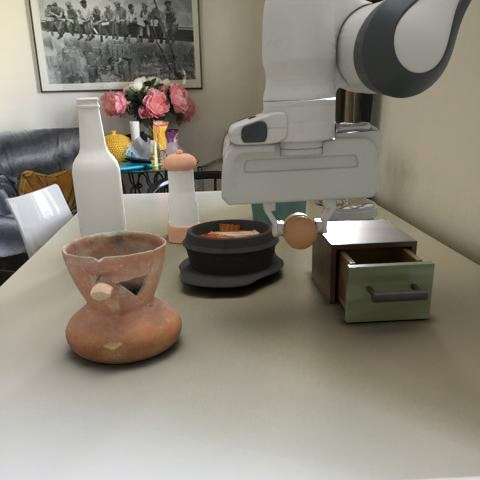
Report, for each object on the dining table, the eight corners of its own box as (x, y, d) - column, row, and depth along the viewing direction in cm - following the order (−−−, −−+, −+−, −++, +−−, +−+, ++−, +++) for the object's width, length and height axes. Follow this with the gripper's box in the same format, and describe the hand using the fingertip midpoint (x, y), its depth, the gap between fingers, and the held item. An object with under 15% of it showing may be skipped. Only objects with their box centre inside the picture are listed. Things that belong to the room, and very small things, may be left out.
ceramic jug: (172, 380, 65) (162, 261, 59) (48, 381, 66) (27, 263, 60) (192, 320, 81) (185, 223, 76) (93, 321, 82) (79, 225, 77)
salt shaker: (167, 236, 128) (160, 148, 121) (199, 234, 129) (194, 147, 122) (169, 244, 122) (162, 152, 114) (203, 242, 123) (198, 150, 115)
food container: (343, 267, 103) (345, 212, 99) (320, 260, 108) (321, 207, 104) (388, 254, 110) (392, 202, 106) (364, 248, 114) (367, 198, 110)
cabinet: (411, 302, 85) (417, 240, 82) (329, 307, 85) (331, 244, 81) (383, 273, 99) (386, 219, 95) (311, 277, 98) (312, 222, 95)
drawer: (441, 330, 73) (448, 273, 70) (354, 335, 73) (357, 277, 70) (397, 286, 90) (401, 238, 87) (326, 290, 89) (327, 241, 86)
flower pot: (247, 235, 127) (245, 161, 121) (241, 220, 142) (239, 153, 136) (319, 232, 128) (321, 158, 122) (306, 217, 143) (306, 150, 137)
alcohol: (93, 254, 116) (72, 97, 105) (135, 254, 115) (118, 96, 104) (77, 266, 108) (53, 98, 97) (122, 266, 107) (103, 97, 96)
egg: (279, 241, 79) (279, 210, 77) (311, 240, 79) (311, 208, 77) (286, 254, 73) (286, 220, 71) (320, 252, 73) (320, 218, 72)
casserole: (203, 253, 114) (201, 211, 111) (295, 257, 110) (295, 214, 107) (156, 294, 92) (151, 244, 89) (268, 302, 88) (267, 249, 84)
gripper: (374, 119, 73) (369, 224, 79) (217, 127, 73) (222, 232, 78) (389, 122, 68) (382, 235, 73) (218, 130, 67) (224, 244, 72)
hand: (299, 234), depth 75 cm, fingers closed on egg, 4 cm apart
